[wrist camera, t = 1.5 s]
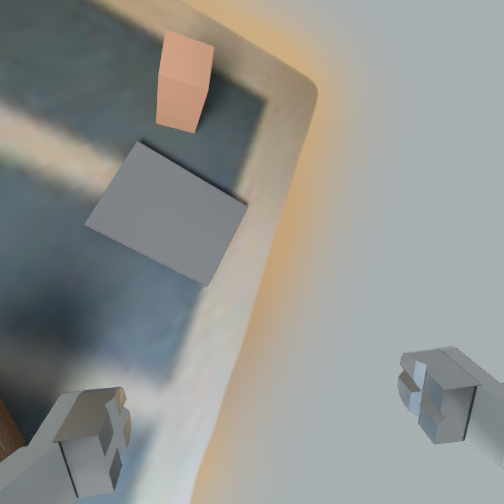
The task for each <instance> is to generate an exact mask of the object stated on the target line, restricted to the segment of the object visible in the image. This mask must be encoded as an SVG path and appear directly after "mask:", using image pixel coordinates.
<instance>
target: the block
mask: <svg viewBox="0 0 504 504" xmlns="http://www.w3.org/2000/svg"><path fill="white" fill-rule="evenodd" d="M213 52H214V46H211V45H208V44H206V43H203V42H200V41H197V40H194V39H191V38H189V37H186V36H183V35H180V34H177V33H174V32H172V31H169V30H166V32H165V38H164V44H163V50H162V57H161V63H160V69H159V76H158V96H157V115H156V123H157V124H161V125H164V126H168V127H172V128H176V129H180V130H183V131H187V132H191V133H195V130H196V127H197V124H198V121H199V118H200V115H201V112H202V108H203V105H204V102H205V99H206V96H207V93H208V89H209V81H210V74H211V67H212V60H213Z"/></svg>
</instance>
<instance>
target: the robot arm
mask: <svg viewBox="0 0 504 504" xmlns="http://www.w3.org/2000/svg"><path fill="white" fill-rule="evenodd" d="M400 365H401V366H402V368H403V369H404V371H403V372H402V373H401V374H400V376H399V377H398V389H399V394H400V397H401V399H402V401H403V403H404V405H405V406H406V407H407V408H408V410H409V411H411V412H412V413H414V414H416V415H418V416H419V421H418V424H419V425H420V426H421V428H422V429H423V430H424V432H425V433H426V434H427V435H428V437H429V438H430V439H431V441H432V442H433V443H434V444H441V443H450V442H458V441H465V443H466V444H467V445H469V446H470V447H472V448H473V449H475V450H476V451H478V452H479V453H481V454H482V455H484V456H485V457H486V458H488V459H489V460H491V461H492V462H494V463H495V464H497V465H498V466H500V467H501V468H503V469H504V383H499V382H498V381H497V380H496V379H494V378H493V377H492V376H491V375H490V374H488V373H487V372H486V371H485V370H483V369H482V368H481V367H480V366H478V365H477V364H476V363H475V362H474V361H472V360H471V359H470V358H468V357H467V356H466V355H465V354H464V353H462V352H461V351H459V349H457V348H455V347H452V346H450V347H443V348H436V349H431V350H424V351H416V352H408V353H403V355H402V357H401V361H400ZM125 400H126V395H125V392H124V389H123V388H122V387H113V388H103V389H93V390H84V391H75V392H65V393H63V394H62V395H60V396H59V398H58V399H57V401H56V402H55V404H54V406H53V407H52V409H51V410H50V412H49V413H48V415H47V417H46V418H45V420H44V421H43V423H42V424H41V426H40V427H39V429H38V431H37V432H36V434H35V435H34V437H33V438H32V440H31V442H30V443H29V445H28V446H26V447H21V448H19V449H18V450H17V451H15V452H14V453H13V454H11V455H10V456H9V457H7V458H6V459H5V460H3V461H2V462H1V463H0V504H76V503H77V501H78V500H77V499H79V498H85V497H90V496H96V495H101V494H107V493H112V492H114V491H115V488H116V484H117V481H118V478H119V475H120V471H121V468H122V463H121V458H120V456H121V455H122V454H123V453H124V452H125V451H126V450H127V448H128V444H129V440H130V433H131V417H130V413H129V410H127V409H126V408H125V407H124V403H125Z"/></svg>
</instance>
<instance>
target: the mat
mask: <svg viewBox="0 0 504 504" xmlns="http://www.w3.org/2000/svg"><path fill="white" fill-rule="evenodd" d="M246 209H247V206H246V205H244V204H242V203H241V202H239V201H237V200H236V199H234V198H232V197H230V196H229V195H227V194H225V193H224V192H222V191H220V190H219V189H217V188H215V187H214V186H212V185H210V184H209V183H207V182H205V181H204V180H202V179H200V178H199V177H197V176H195V175H194V174H192V173H190V172H189V171H187V170H185V169H183V168H182V167H180V166H178V165H177V164H175V163H173V162H172V161H170V160H168V159H167V158H165V157H163V156H162V155H160V154H158V153H157V152H155V151H153V150H152V149H150V148H148V147H147V146H145V145H143V144H142V143H140V142H138V141H137V142H136V144H135V145H134V147H133V149H132V150H131V152H130V153H129V155H128V156H127V158H126V160H125V161H124V163H123V164H122V166H121V167H120V169H119V171H118V172H117V174H116V175H115V177H114V178H113V180H112V181H111V183H110V185H109V186H108V188H107V189H106V191H105V192H104V194H103V196H102V197H101V199H100V200H99V202H98V203H97V205H96V207H95V208H94V210H93V211H92V213H91V214H90V216H89V218H88V219H87V221H86V222H85V224H84V225H85V226H87V227H89V228H91V229H93V230H95V231H97V232H99V233H101V234H103V235H105V236H107V237H109V238H111V239H113V240H115V241H117V242H119V243H121V244H123V245H125V246H127V247H129V248H131V249H133V250H135V251H137V252H139V253H141V254H143V255H145V256H147V257H149V258H151V259H153V260H155V261H157V262H159V263H161V264H163V265H165V266H167V267H169V268H171V269H173V270H175V271H177V272H179V273H181V274H183V275H185V276H187V277H189V278H191V279H192V280H194V281H196V282H198V283H200V284H202V285H204V286H208V285H209V283H210V281H211V279H212V277H213V275H214V273H215V271H216V269H217V267H218V265H219V263H220V261H221V259H222V257H223V255H224V253H225V251H226V249H227V247H228V245H229V243H230V241H231V239H232V237H233V235H234V233H235V231H236V229H237V227H238V225H239V223H240V221H241V219H242V217H243V215H244V213H245V211H246Z"/></svg>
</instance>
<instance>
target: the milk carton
mask: <svg viewBox="0 0 504 504" xmlns="http://www.w3.org/2000/svg"><path fill="white" fill-rule="evenodd" d="M26 446H28V445H27V444H26V442H25V440H24V438H23V437H22V435H21V433H20V431H19V430H18V428H17V426H16V425H15V423H14V421H13V419H12V418H11V416H10V414H9V412H8V411H7V409H6V407H5V405H4V404H3V402H2V400H1V398H0V463H1V462H2V461H3V460H5V459H6V458H7V457H9V456H10V455H11V454H13V453H14V452H15V451H17V450H18V449H19V448H21V447H26Z"/></svg>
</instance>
